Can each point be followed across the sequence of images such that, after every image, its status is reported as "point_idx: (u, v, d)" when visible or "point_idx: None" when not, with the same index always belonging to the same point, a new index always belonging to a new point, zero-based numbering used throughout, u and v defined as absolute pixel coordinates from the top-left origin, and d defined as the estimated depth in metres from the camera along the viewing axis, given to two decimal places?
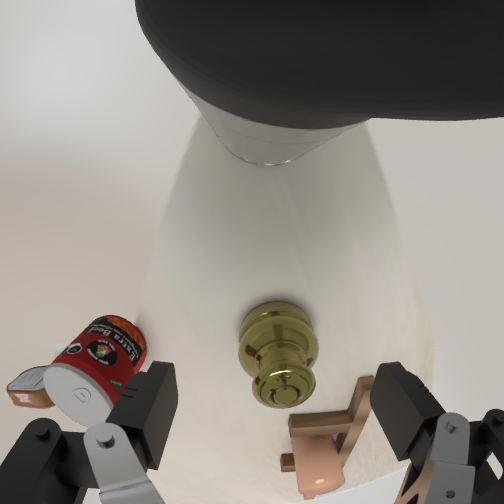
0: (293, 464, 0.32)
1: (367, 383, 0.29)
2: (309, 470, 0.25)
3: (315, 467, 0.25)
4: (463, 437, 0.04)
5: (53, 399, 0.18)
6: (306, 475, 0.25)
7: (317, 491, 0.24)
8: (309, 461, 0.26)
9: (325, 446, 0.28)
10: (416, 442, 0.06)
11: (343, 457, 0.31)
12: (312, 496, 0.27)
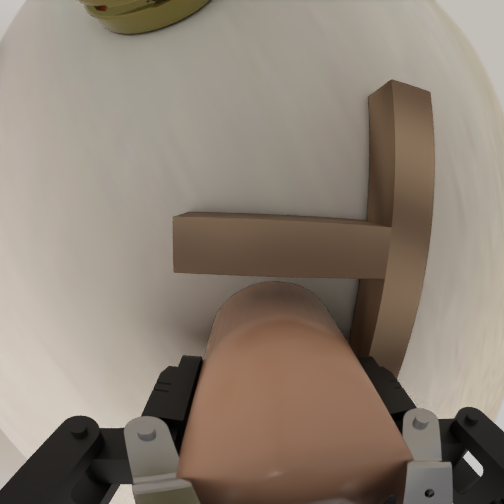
0: None
1: None
2: (220, 407, 0.05)
3: (250, 390, 0.06)
4: (430, 434, 0.05)
5: None
6: (200, 433, 0.05)
7: None
8: (231, 367, 0.07)
9: (310, 322, 0.09)
10: None
11: None
12: None
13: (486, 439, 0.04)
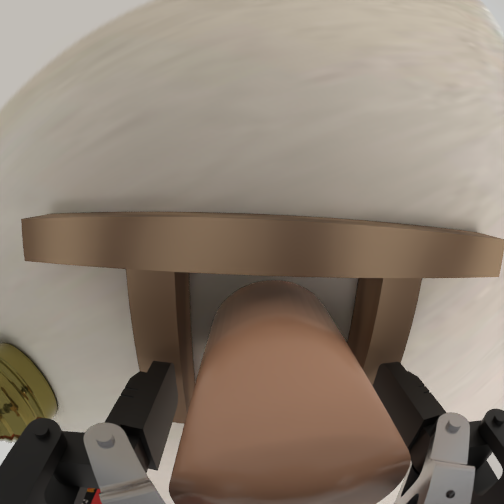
0: None
1: None
2: (218, 401, 0.06)
3: (248, 385, 0.06)
4: (463, 437, 0.04)
5: None
6: (199, 427, 0.05)
7: None
8: (229, 363, 0.07)
9: (307, 320, 0.09)
10: (416, 442, 0.06)
11: (367, 246, 0.10)
12: None
13: None
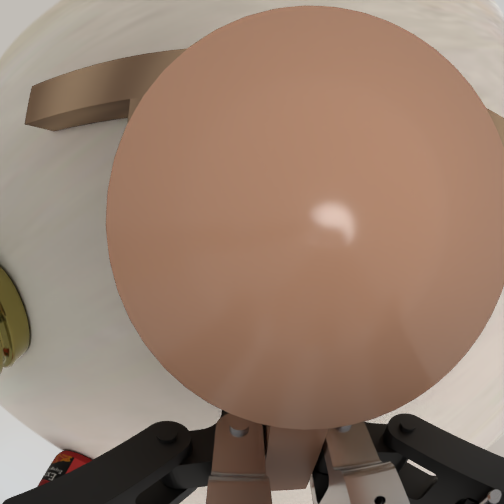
0: None
1: None
2: None
3: None
4: (349, 438, 0.06)
5: None
6: None
7: (330, 362, 0.03)
8: None
9: None
10: None
11: None
12: (300, 472, 0.06)
13: (431, 446, 0.05)
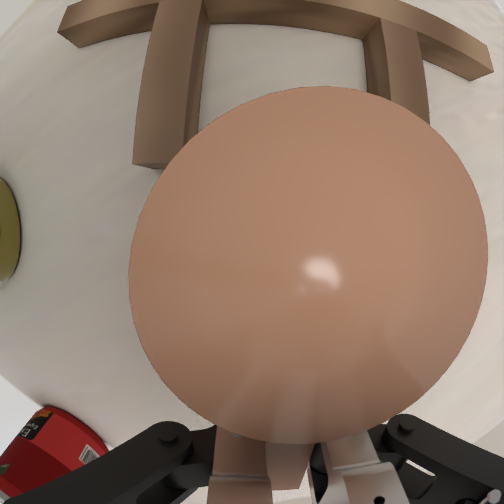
0: None
1: None
2: None
3: None
4: (348, 438, 0.06)
5: None
6: None
7: (310, 396, 0.04)
8: None
9: None
10: None
11: None
12: (293, 474, 0.07)
13: (431, 447, 0.05)
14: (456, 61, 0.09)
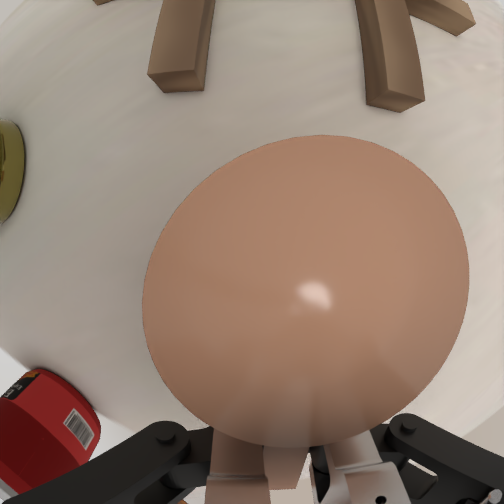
0: (382, 61, 0.09)
1: None
2: None
3: None
4: (351, 438, 0.06)
5: None
6: None
7: (302, 407, 0.05)
8: None
9: None
10: None
11: None
12: (289, 475, 0.07)
13: (432, 446, 0.05)
14: (440, 15, 0.09)
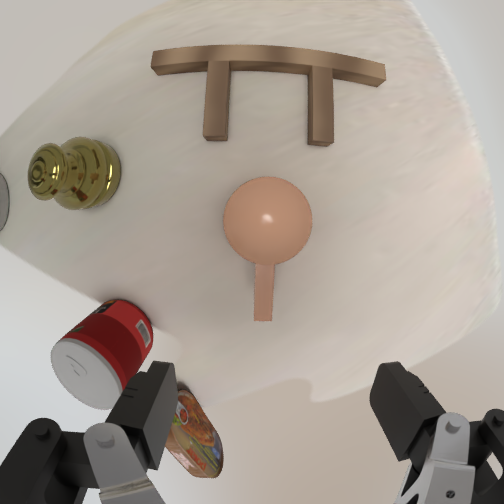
0: (312, 124, 0.23)
1: None
2: None
3: None
4: (463, 437, 0.04)
5: (101, 406, 0.20)
6: None
7: (263, 245, 0.19)
8: None
9: None
10: (416, 442, 0.06)
11: (303, 54, 0.22)
12: (267, 307, 0.22)
13: None
14: (361, 78, 0.23)
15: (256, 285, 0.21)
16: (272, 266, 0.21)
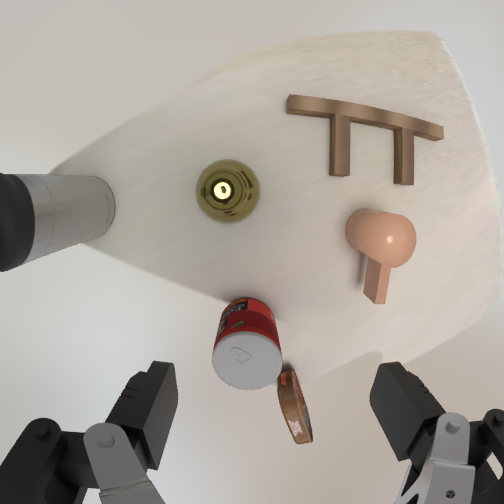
0: (401, 171, 0.33)
1: (288, 105, 0.32)
2: (376, 217, 0.29)
3: (381, 214, 0.29)
4: (463, 437, 0.04)
5: (255, 386, 0.29)
6: (375, 221, 0.28)
7: (391, 255, 0.28)
8: (373, 215, 0.30)
9: None
10: (416, 442, 0.06)
11: (396, 117, 0.31)
12: (383, 294, 0.31)
13: None
14: (428, 136, 0.32)
15: (379, 280, 0.30)
16: (389, 268, 0.30)
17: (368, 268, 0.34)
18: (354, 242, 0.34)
